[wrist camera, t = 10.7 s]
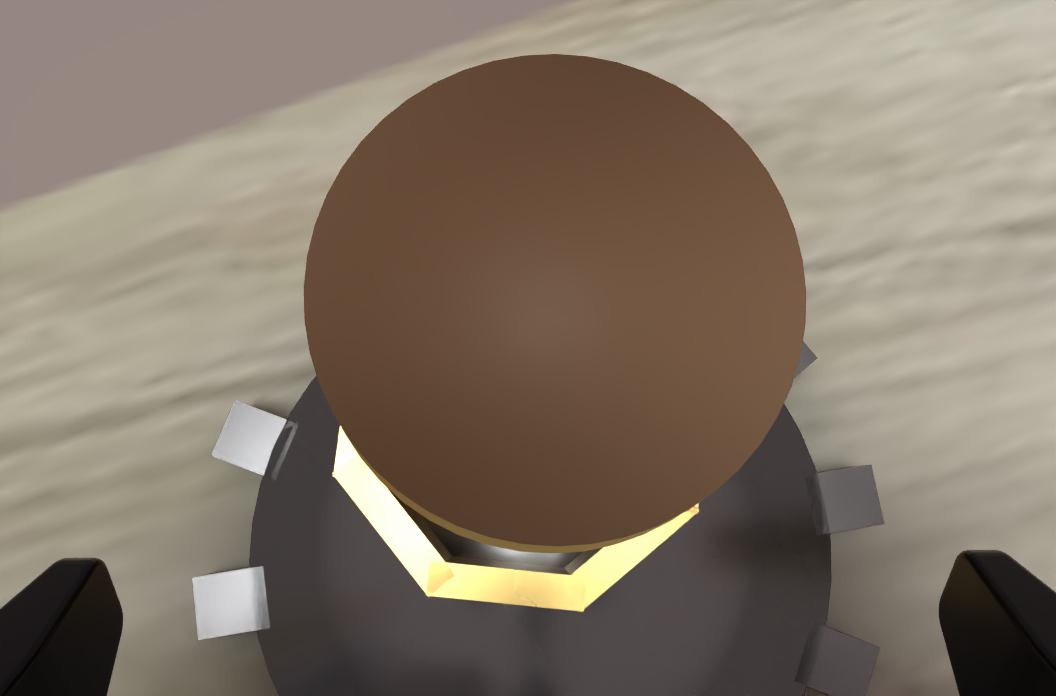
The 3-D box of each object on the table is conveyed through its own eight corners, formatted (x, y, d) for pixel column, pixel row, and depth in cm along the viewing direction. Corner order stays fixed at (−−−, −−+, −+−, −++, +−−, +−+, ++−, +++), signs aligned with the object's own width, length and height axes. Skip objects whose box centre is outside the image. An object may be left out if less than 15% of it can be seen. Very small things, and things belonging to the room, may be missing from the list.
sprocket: (997, 594, 20) (1089, 611, 17) (491, 1056, 18) (487, 1172, 15) (581, 114, 21) (594, 48, 18) (82, 500, 20) (0, 500, 17)
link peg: (650, 391, 19) (909, 198, 7) (558, 555, 19) (661, 667, 6) (490, 299, 19) (463, -45, 7) (395, 459, 19) (185, 383, 7)
